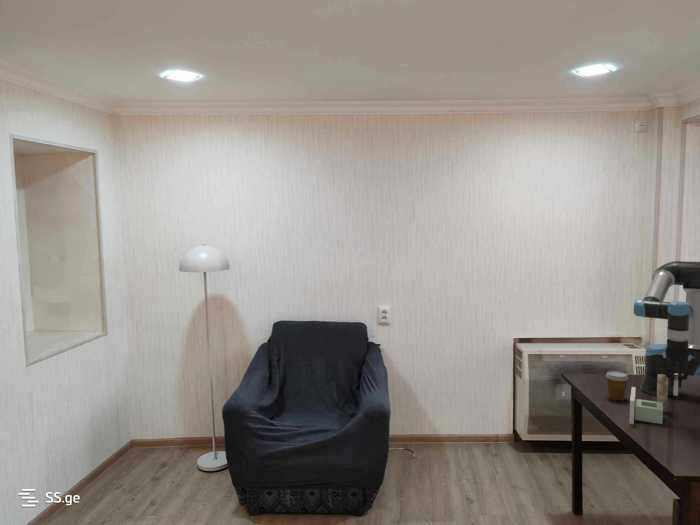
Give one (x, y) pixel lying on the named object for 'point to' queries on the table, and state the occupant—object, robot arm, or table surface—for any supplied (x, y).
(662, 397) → the birch dowel
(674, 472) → the table surface
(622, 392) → the disposable coffee cup
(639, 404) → the sage green block
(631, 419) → the pale wall board
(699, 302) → the robot arm
